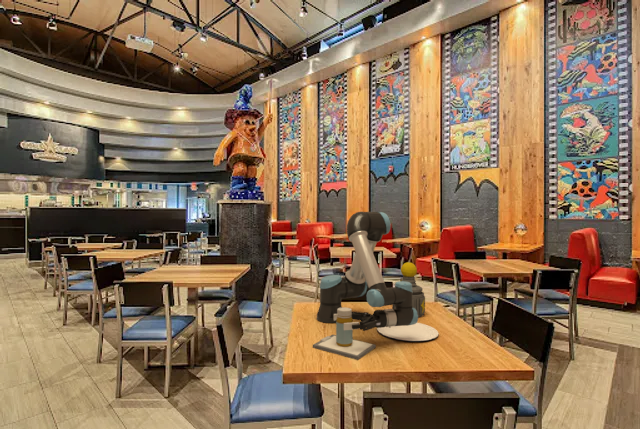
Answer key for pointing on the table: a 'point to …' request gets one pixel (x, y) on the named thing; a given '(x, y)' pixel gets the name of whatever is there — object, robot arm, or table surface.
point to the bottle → (343, 336)
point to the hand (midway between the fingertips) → (338, 321)
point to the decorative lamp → (413, 288)
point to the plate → (410, 332)
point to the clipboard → (353, 351)
